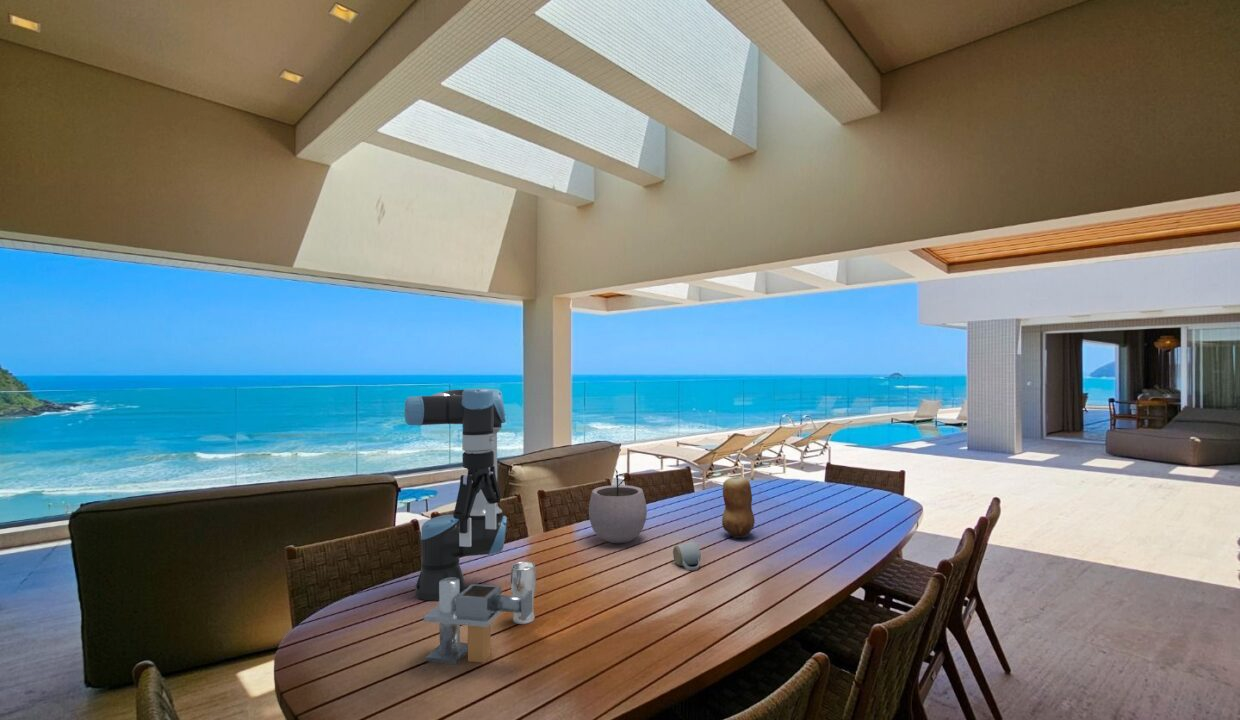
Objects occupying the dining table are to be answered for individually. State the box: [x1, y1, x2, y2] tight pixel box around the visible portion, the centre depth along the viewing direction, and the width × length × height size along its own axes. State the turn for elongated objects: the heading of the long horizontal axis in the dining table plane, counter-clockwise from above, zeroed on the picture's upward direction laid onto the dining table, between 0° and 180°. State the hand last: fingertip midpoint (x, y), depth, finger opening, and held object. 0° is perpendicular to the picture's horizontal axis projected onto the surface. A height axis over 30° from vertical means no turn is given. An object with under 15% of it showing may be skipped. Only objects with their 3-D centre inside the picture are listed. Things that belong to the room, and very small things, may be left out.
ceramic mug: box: [672, 541, 702, 572], centre depth 190 cm, size 11×8×8 cm
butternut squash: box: [721, 476, 755, 539], centre depth 222 cm, size 14×13×25 cm
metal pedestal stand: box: [423, 577, 502, 665], centre depth 131 cm, size 16×10×18 cm, turn 78°
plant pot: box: [588, 468, 648, 544], centre depth 219 cm, size 24×24×30 cm
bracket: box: [456, 583, 532, 621], centre depth 129 cm, size 17×8×5 cm, turn 78°
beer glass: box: [510, 561, 537, 625], centre depth 150 cm, size 7×7×15 cm
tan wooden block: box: [467, 623, 492, 663], centre depth 130 cm, size 4×4×12 cm
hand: (478, 537), depth 131 cm, fingers open, 13 cm apart
